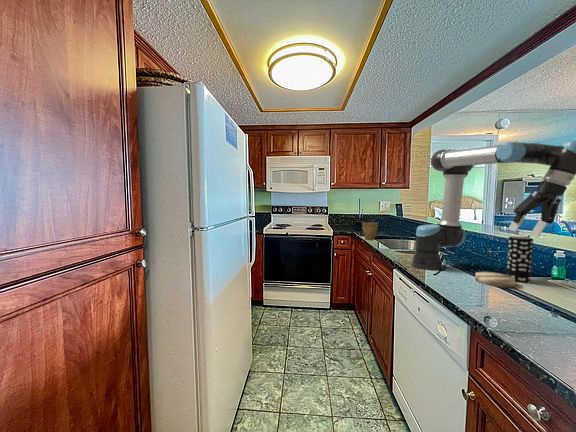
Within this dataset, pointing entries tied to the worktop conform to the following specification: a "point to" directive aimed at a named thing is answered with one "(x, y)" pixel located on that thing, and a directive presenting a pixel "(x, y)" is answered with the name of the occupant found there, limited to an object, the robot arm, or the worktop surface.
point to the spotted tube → (520, 258)
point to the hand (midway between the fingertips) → (523, 233)
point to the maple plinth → (495, 279)
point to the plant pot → (369, 230)
